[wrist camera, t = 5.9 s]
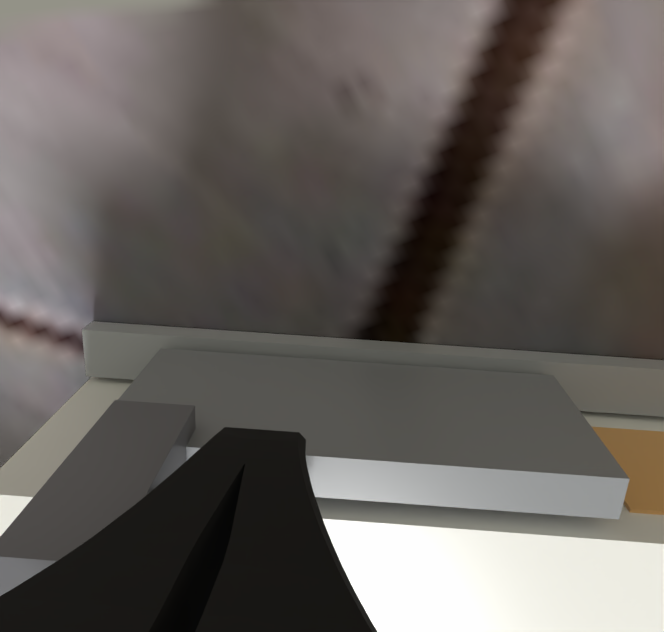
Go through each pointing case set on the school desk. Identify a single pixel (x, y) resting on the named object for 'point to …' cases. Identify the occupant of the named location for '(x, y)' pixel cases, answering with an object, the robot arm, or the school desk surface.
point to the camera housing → (437, 521)
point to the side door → (328, 443)
